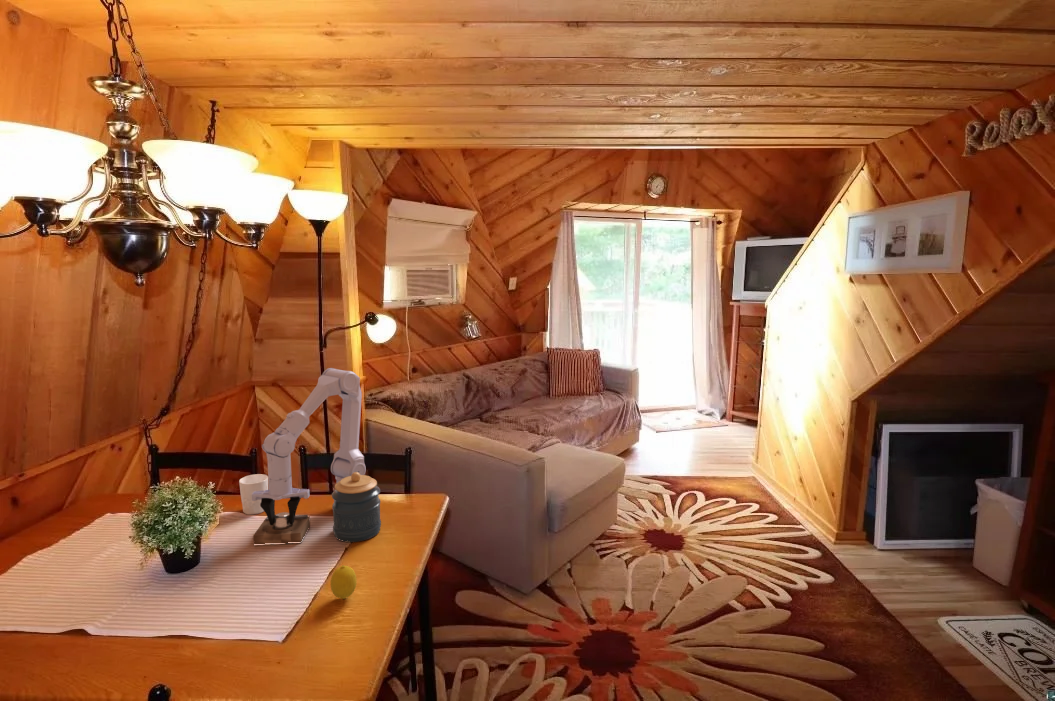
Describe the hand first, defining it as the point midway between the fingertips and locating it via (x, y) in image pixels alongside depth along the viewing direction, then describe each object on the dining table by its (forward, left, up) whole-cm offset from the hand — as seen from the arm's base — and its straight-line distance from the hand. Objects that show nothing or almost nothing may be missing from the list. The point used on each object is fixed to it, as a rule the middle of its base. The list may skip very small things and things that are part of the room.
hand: (282, 523), depth 149 cm
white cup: (+13, -18, -4) cm, 23 cm away
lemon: (-22, +32, -4) cm, 39 cm away
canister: (-20, 0, -4) cm, 20 cm away
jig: (0, 0, -4) cm, 4 cm away
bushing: (0, 0, -4) cm, 4 cm away
